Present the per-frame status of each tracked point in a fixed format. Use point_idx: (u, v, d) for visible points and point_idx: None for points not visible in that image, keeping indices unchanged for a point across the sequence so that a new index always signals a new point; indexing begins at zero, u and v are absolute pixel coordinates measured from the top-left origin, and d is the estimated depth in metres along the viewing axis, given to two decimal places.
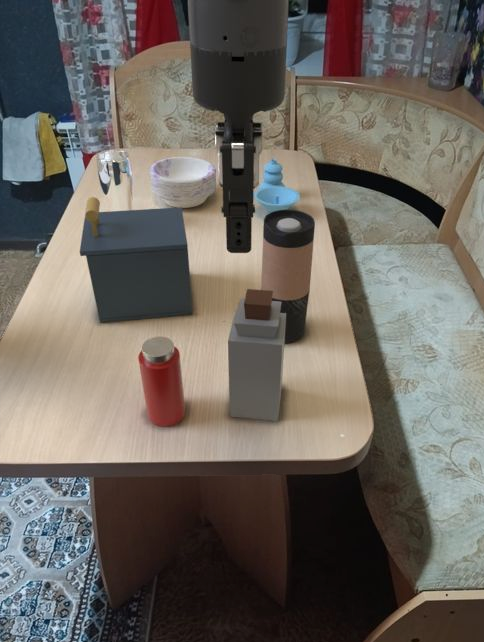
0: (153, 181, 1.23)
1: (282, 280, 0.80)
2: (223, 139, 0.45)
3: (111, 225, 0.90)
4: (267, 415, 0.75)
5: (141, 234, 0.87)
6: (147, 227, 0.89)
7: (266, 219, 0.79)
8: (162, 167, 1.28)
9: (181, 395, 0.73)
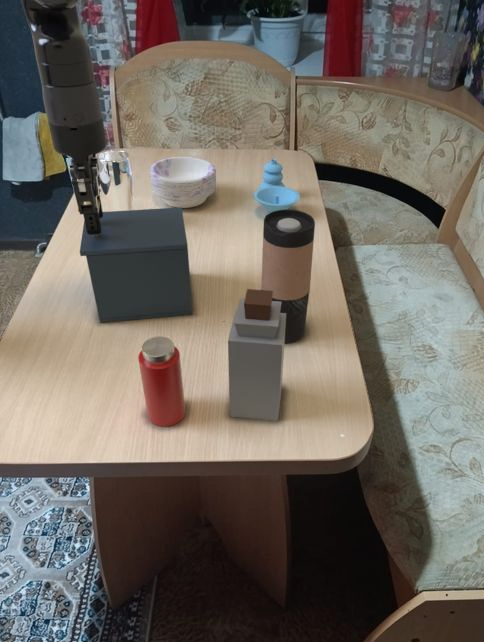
0: (153, 181, 1.23)
1: (282, 280, 0.80)
2: (74, 170, 0.80)
3: (111, 225, 0.90)
4: (267, 415, 0.75)
5: (141, 234, 0.87)
6: (147, 227, 0.89)
7: (266, 219, 0.79)
8: (162, 167, 1.28)
9: (181, 395, 0.73)
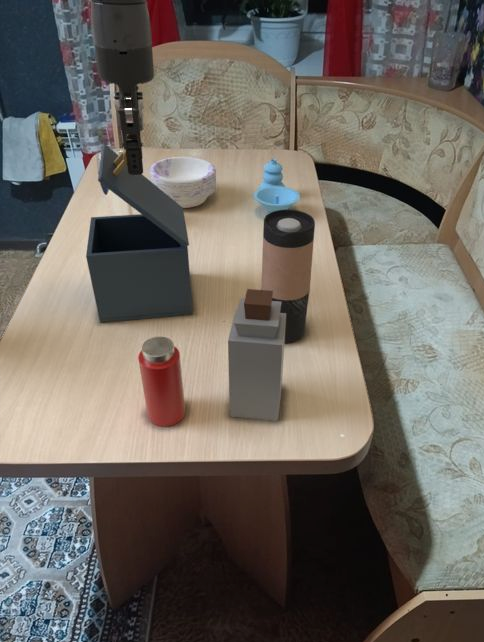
0: (153, 181, 1.23)
1: (282, 280, 0.80)
2: (119, 101, 0.75)
3: (127, 175, 0.85)
4: (267, 415, 0.75)
5: (153, 205, 0.85)
6: (157, 202, 0.87)
7: (266, 219, 0.79)
8: (162, 167, 1.28)
9: (181, 395, 0.73)
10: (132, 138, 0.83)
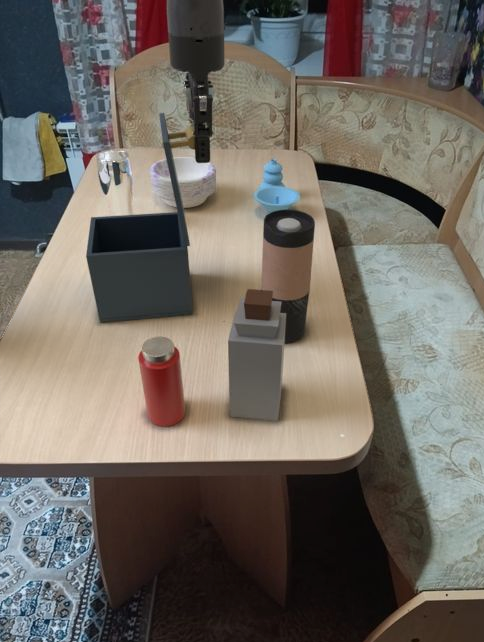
0: (153, 181, 1.23)
1: (282, 280, 0.80)
2: (190, 89, 0.76)
3: None
4: (267, 415, 0.75)
5: None
6: None
7: (266, 219, 0.79)
8: (162, 167, 1.28)
9: (181, 395, 0.73)
10: (197, 127, 0.83)
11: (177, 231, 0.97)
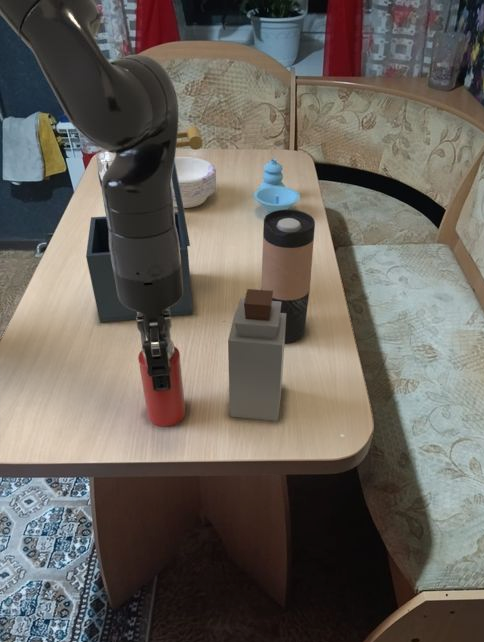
0: None
1: (282, 280, 0.80)
2: (143, 323, 0.63)
3: None
4: (267, 415, 0.75)
5: None
6: None
7: (266, 219, 0.79)
8: None
9: (181, 395, 0.73)
10: None
11: (177, 231, 0.97)
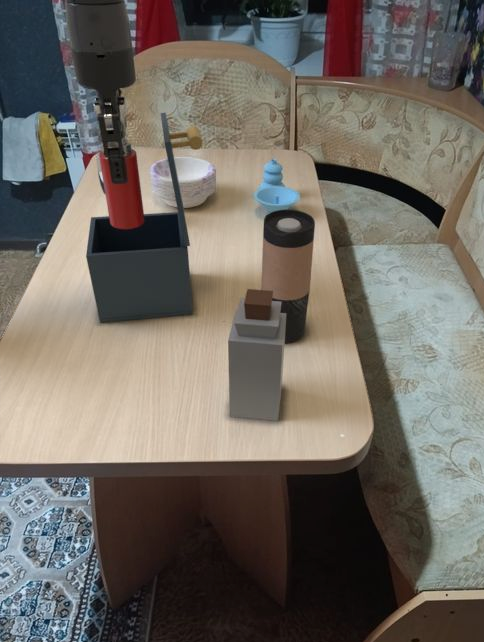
0: (153, 181, 1.23)
1: (282, 280, 0.80)
2: (99, 107, 0.71)
3: None
4: (267, 415, 0.75)
5: None
6: None
7: (266, 219, 0.79)
8: (162, 167, 1.28)
9: (139, 198, 0.80)
10: None
11: (177, 231, 0.97)
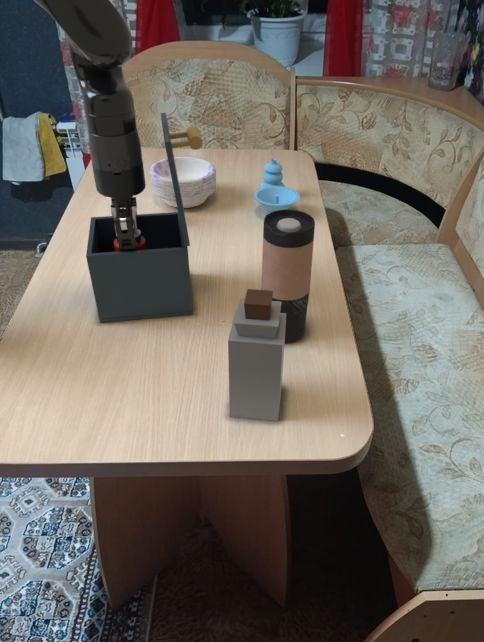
0: (153, 181, 1.23)
1: (282, 280, 0.80)
2: (115, 209, 0.85)
3: None
4: (267, 415, 0.75)
5: None
6: None
7: (266, 219, 0.79)
8: (162, 167, 1.28)
9: None
10: None
11: (177, 231, 0.97)
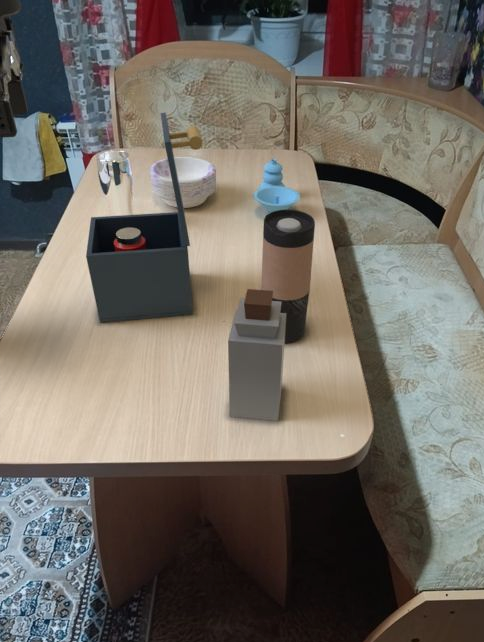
0: (153, 181, 1.23)
1: (282, 280, 0.80)
2: None
3: None
4: (267, 415, 0.75)
5: None
6: None
7: (266, 219, 0.79)
8: (162, 167, 1.28)
9: None
10: (10, 85, 0.66)
11: (177, 231, 0.97)
